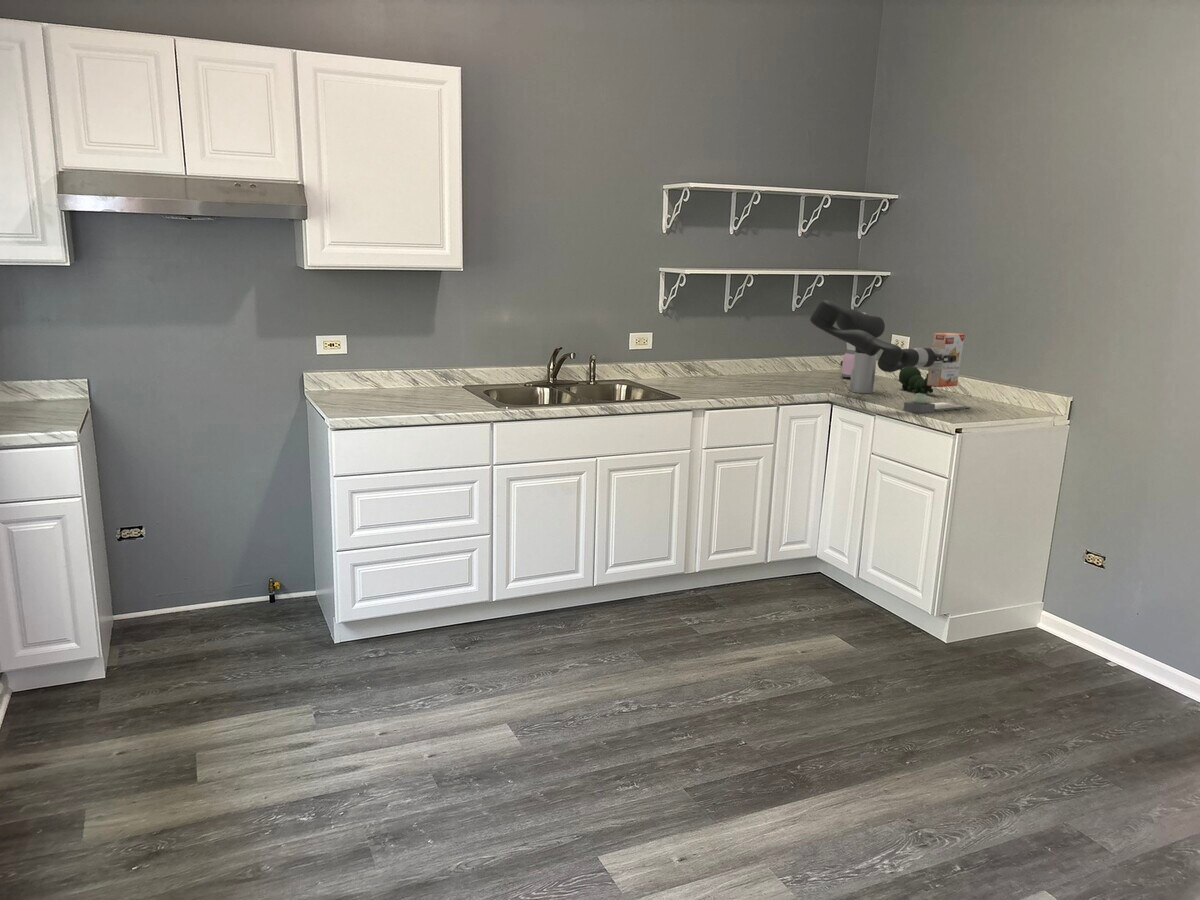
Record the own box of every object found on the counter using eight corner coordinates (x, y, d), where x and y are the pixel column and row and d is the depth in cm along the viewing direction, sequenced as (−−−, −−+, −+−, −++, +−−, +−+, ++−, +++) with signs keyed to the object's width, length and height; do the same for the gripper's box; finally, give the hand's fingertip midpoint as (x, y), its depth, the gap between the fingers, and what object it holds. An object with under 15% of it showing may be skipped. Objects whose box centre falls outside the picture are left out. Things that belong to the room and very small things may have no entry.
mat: (908, 405, 348) (908, 403, 348) (941, 402, 358) (941, 401, 358) (937, 411, 336) (937, 409, 336) (970, 408, 346) (970, 406, 346)
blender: (871, 379, 424) (878, 313, 417) (861, 381, 415) (868, 314, 408) (840, 375, 434) (847, 311, 426) (830, 377, 424) (836, 311, 417)
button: (911, 403, 336) (912, 393, 336) (918, 403, 339) (919, 393, 338) (920, 405, 333) (921, 395, 332) (927, 405, 335) (928, 394, 334)
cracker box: (940, 387, 338) (947, 334, 334) (926, 385, 343) (932, 332, 339) (958, 386, 347) (965, 333, 343) (944, 384, 352) (951, 332, 347)
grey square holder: (903, 409, 338) (904, 402, 337) (917, 408, 342) (918, 401, 341) (920, 413, 331) (921, 405, 330) (934, 411, 335) (935, 404, 334)
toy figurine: (940, 400, 377) (906, 386, 400) (948, 357, 371) (913, 345, 394) (921, 400, 374) (888, 386, 397) (929, 357, 368) (895, 345, 391)
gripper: (936, 349, 328) (964, 349, 336) (905, 345, 340) (934, 345, 348) (933, 369, 329) (962, 368, 338) (903, 364, 341) (931, 364, 350)
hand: (947, 357), depth 343 cm, fingers closed on cracker box, 6 cm apart
